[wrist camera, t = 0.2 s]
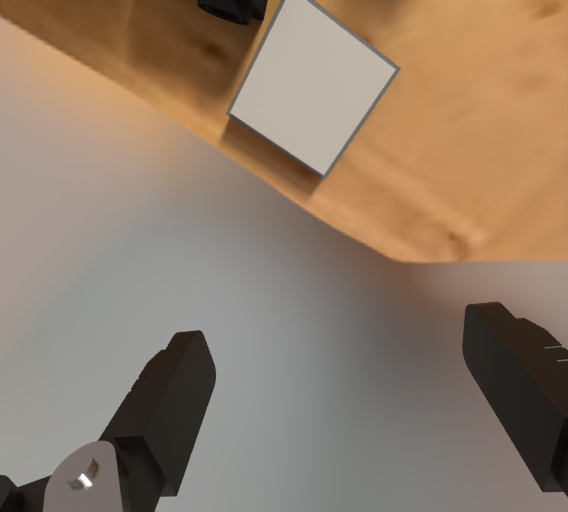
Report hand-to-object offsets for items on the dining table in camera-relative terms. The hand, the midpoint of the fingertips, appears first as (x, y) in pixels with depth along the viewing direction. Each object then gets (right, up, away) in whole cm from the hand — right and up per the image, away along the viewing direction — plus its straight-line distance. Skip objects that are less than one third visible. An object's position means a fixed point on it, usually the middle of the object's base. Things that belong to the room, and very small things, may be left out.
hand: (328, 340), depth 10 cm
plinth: (+1, +19, +22) cm, 30 cm away
